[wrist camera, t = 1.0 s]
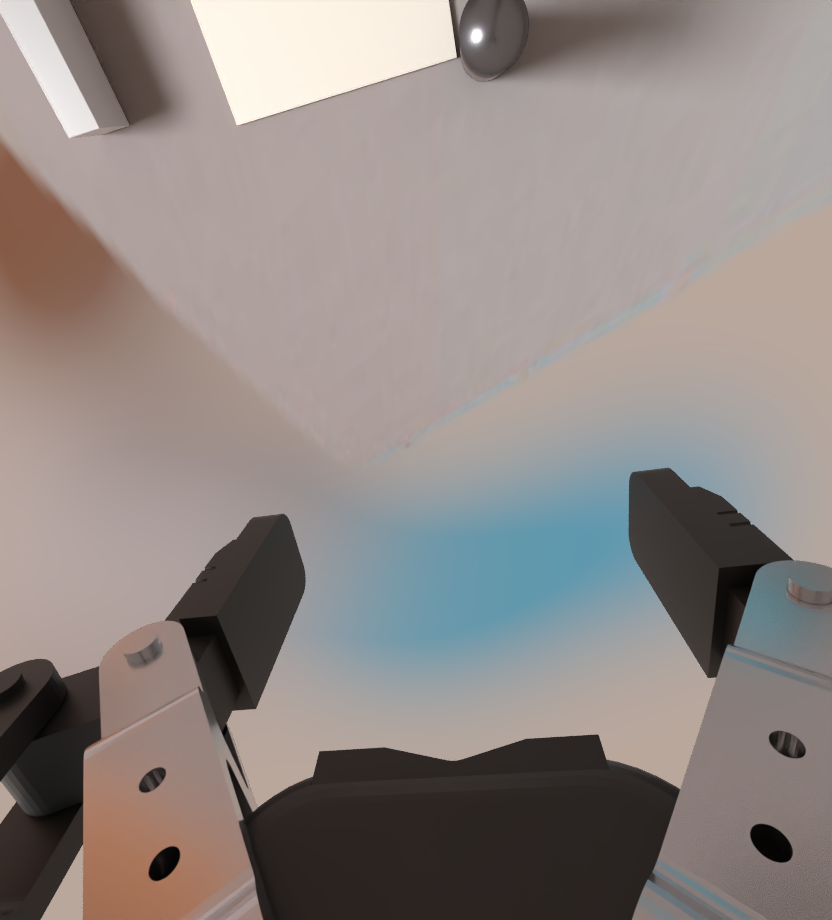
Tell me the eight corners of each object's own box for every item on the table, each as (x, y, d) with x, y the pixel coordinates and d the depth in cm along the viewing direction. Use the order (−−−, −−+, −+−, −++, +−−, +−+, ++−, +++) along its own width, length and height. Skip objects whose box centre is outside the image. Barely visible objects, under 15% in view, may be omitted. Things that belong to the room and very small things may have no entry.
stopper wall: (-23, -108, 23) (-79, -131, 21) (10, -124, 23) (-43, -150, 20) (101, 134, 29) (69, 138, 27) (129, 125, 28) (99, 128, 26)
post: (456, 25, 25) (453, -5, 18) (506, 9, 24) (524, -29, 17) (464, 88, 26) (465, 83, 19) (512, 73, 26) (531, 63, 18)
